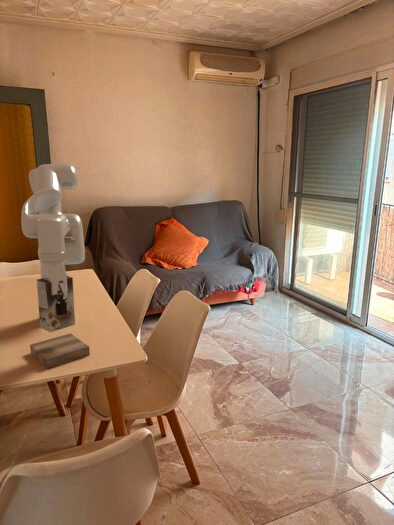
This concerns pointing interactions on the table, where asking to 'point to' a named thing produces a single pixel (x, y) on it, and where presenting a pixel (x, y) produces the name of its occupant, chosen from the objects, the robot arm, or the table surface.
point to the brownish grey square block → (59, 350)
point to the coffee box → (54, 306)
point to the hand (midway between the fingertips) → (56, 311)
